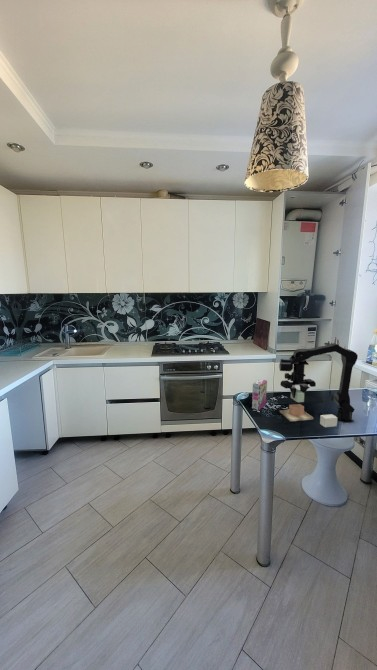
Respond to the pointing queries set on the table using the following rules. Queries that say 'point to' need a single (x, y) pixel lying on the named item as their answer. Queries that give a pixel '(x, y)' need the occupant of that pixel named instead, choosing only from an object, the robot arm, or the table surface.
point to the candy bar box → (259, 394)
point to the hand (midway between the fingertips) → (297, 397)
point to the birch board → (296, 418)
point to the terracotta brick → (296, 409)
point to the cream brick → (328, 420)
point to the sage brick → (298, 396)
